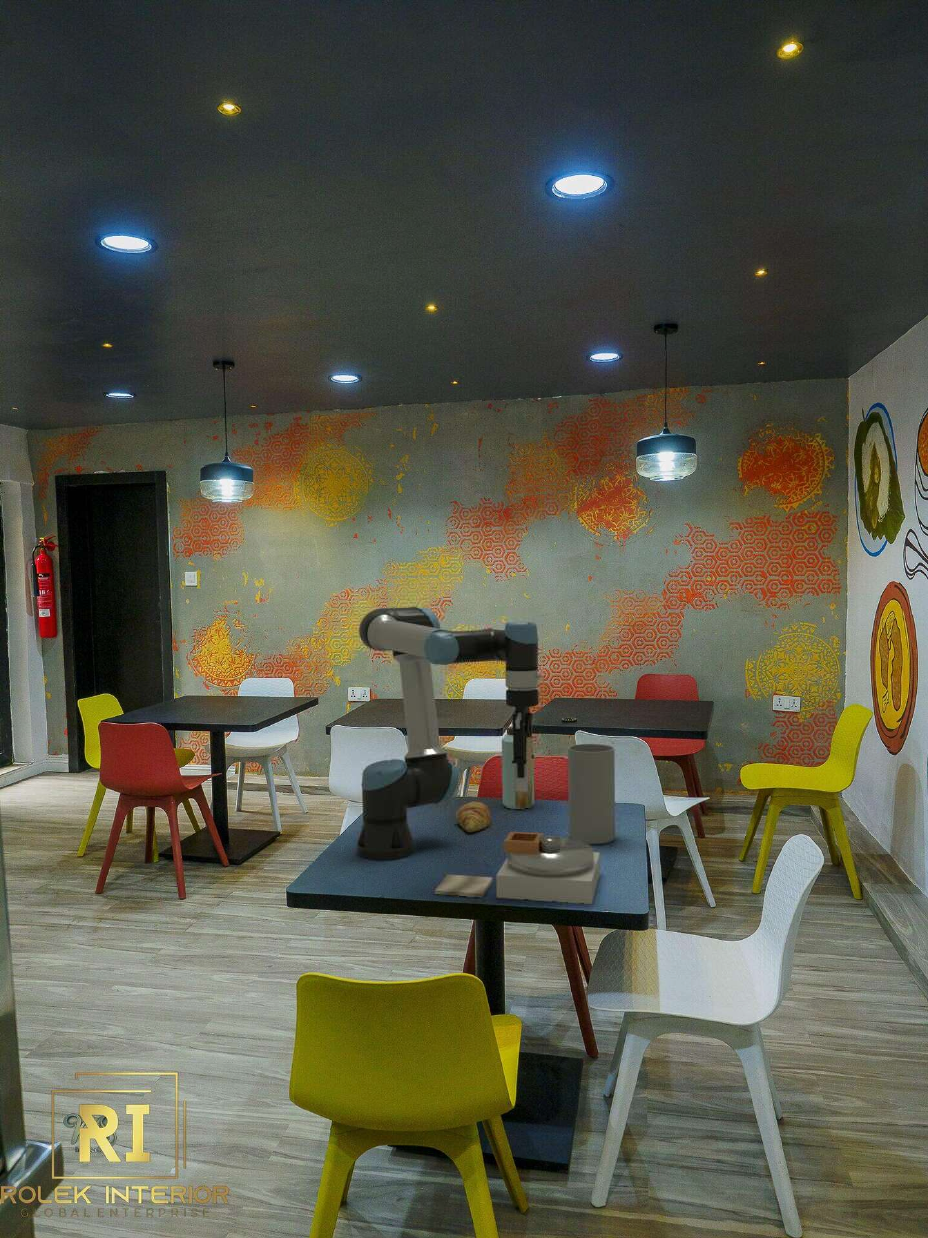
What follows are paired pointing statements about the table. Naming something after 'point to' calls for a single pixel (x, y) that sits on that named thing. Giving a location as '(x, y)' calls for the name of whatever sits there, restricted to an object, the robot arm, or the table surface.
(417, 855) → the table surface
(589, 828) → the cylinder vase
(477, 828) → the croissant
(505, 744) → the water bottle
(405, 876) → the table surface
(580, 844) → the silver metal disc
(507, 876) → the beige square block
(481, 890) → the birch pad
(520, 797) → the brass capsule
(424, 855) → the table surface
